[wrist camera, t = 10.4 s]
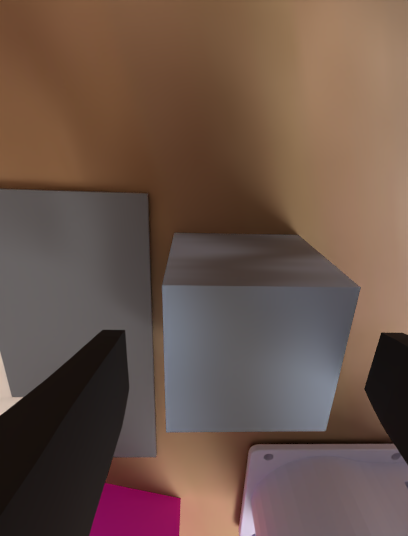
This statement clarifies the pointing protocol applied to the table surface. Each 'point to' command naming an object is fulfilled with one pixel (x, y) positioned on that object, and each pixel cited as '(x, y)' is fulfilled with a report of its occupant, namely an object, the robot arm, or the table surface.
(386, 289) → the table surface
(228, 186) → the table surface
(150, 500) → the toy block
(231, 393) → the gray cube
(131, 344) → the board
